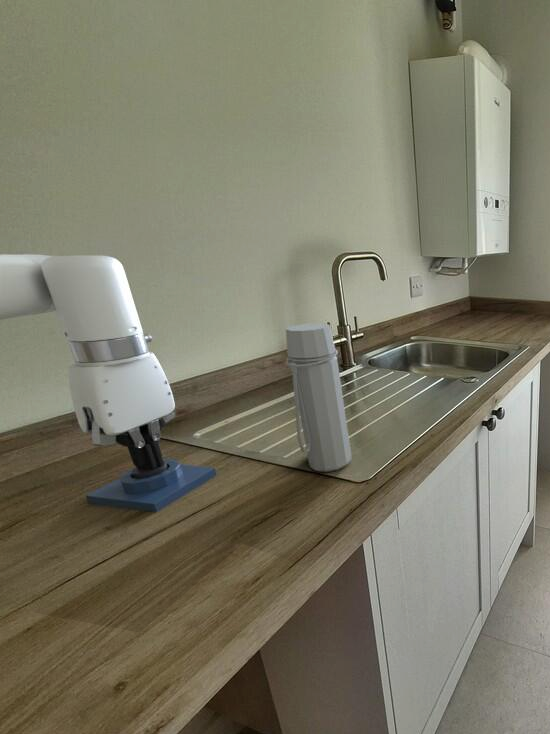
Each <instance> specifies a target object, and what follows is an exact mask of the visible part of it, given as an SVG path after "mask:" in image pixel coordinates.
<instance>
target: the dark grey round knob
mask: <svg viewBox="0 0 550 734" xmlns="http://www.w3.org/2000/svg"><path fill="white" fill-rule="evenodd" d="M163 463H164V464H163V465H161V466H157V468H155V469H153V470H147V469H138V468H137V467H136V466H135V467H133V468H134V469H133V468H132V469H133V470H132V474H133V477H134V479H141V478H148V477H152V476H155V475H158V474H160V473H162V472H164V471H166V470H167V469H168V467H167V464H166V462H165V461H163Z"/></svg>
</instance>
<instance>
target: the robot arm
mask: <svg viewBox="0 0 550 734" xmlns="http://www.w3.org/2000/svg"><path fill="white" fill-rule="evenodd" d="M53 312H56V313H57V317H58V319H59V321H60V324H61V326H62V330H63V332H64V335H65V338H66V341H67V343H68V346H69V348H70V351H71V354H72V358H73V360H74V362H75V364H72V365H68V385H69V391H70V395H71V400H72V405H73V409H74V412H75V415H76V419H77V423H78V424H79V427H80V430H81V431H82V432H83V434H87V435H89V434H90V435H91V436H92V445H93V446H95V447H109V446H113V445H120V446H122V447H127V449H128V452H129V455H130V458H131V461H132V463H133V465H134V466H135V467H137V468H138V469H147V470H153V469H155V468H157V466H161V465H163V464H164V463H163V460H164V459H163V454H162V450H161V447H160V444H159V440H161V437H162V433H161V432H162V429H163V428H164V426H165V424H168V422H170V421H171V420H172V419H174V418H175V417H176V413H175V411H174V410H175V408H176V403H175V398H174V394H173V391H172V388H171V385H170V383H169V380H168V378H167V376H166V373H165V371H164V369H163V367H162V365H161V364H160V361H159V360H158V358H157V357H156V355H155V354H154V352H153V351H149V346H148V343H151V342H152V340H153V338H152V337H153V336H151V335H150V334H149V333H144V330H143V327H142V324H141V321H140V318H139V314H138V311H137V308H136V304H135V301H134V298H133V295H132V291H131V288H130V284H129V281H128V278H127V275H126V271H125V268H124V265H123V264H122V263H121V262H120V261H119V260H118V259H117V258H115V257H113V256H109V255H97V254H96V255H94V254H93V255H91V254H89V255H87V254H86V255H85V254H84V255H83V254H82V255H81V254H80V255H47V254H35V253H33V254H32V253H25V254H23V253H22V254H20V253H19V254H12V253H11V254H10V253H9V254H8V253H7V254H6V253H3V254H2V253H1V254H0V321H2V320H7V319H13V318H19V317H20V318H21V317H25V316H34V315H40V314H46V313H53Z"/></svg>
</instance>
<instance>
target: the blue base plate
mask: <svg viewBox="0 0 550 734" xmlns="http://www.w3.org/2000/svg"><path fill="white" fill-rule="evenodd" d="M162 460H163V461H165V462H166V464H167V467H168V469H167V470H166V471H164V472H162V473H160V474H158V475H155V476H152V477H148V478H141V479H134V477H133V474H132V470H133V469H134V468H135V467H133V468H130V469H129V470H126V471H125V472H123V474H122V475H121V476H119V478H118V479H116V480H114V481H112V482H110V483H108V484H105V485H103V486H102V487H100V488H98V489H96V490H93V491H92V492H90V493H88V494H85V498H86V501H87V503H88V504H89V505H96V506H103V507H104V506H106V507H114V508H120V509H130V510H137V511H145V512H153V513H158V512H159V511H161V510H162V509H165V508H166V507H168V506H169V505H171V504H172V503H174V502H176V501H177V500H179V499H181V498H182V497H184V496H185V495H187V494H188V493H190V492H192V491H194V490H195V489H197V488H199V487H200V486H202V485H204V484H205V483H207V482H208V481H210V480H212V479H213V478H215V477H216V476H217V475H218V474H217V470H216V468H215V467H209V466H199V465H189V464H181V463H180V462H179V461H178V460H177V459H169V458H167V459H162Z"/></svg>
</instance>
